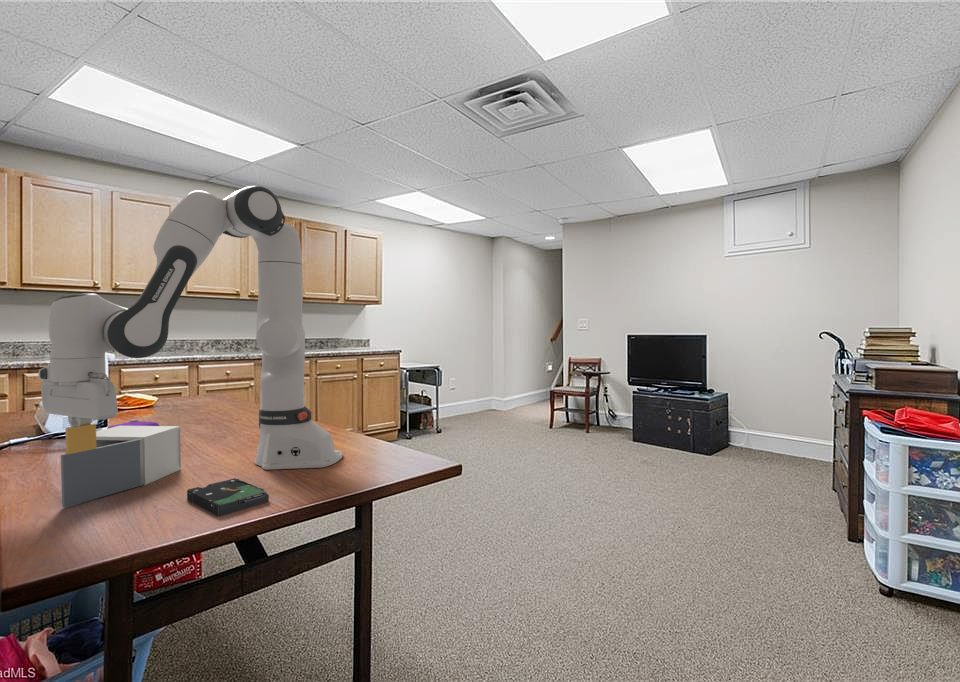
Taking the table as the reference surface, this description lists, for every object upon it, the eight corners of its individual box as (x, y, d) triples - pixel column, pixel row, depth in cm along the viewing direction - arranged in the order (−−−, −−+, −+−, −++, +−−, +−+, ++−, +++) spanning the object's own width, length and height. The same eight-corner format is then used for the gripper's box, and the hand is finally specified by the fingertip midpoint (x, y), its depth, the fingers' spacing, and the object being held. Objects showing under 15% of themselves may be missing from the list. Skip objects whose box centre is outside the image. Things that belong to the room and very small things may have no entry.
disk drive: (185, 503, 102) (218, 519, 93) (185, 489, 101) (218, 504, 92) (235, 489, 110) (270, 503, 101) (235, 477, 110) (270, 490, 101)
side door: (141, 484, 111) (140, 415, 111) (144, 484, 111) (143, 416, 110) (61, 507, 97) (59, 428, 96) (64, 507, 97) (62, 429, 96)
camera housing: (183, 468, 124) (182, 425, 124) (145, 484, 111) (144, 437, 111) (123, 467, 125) (122, 424, 125) (79, 483, 112) (77, 436, 112)
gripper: (126, 372, 99) (127, 439, 100) (68, 368, 108) (70, 430, 108) (90, 375, 94) (93, 446, 94) (33, 371, 102) (35, 436, 102)
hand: (80, 437), depth 101 cm, fingers closed
